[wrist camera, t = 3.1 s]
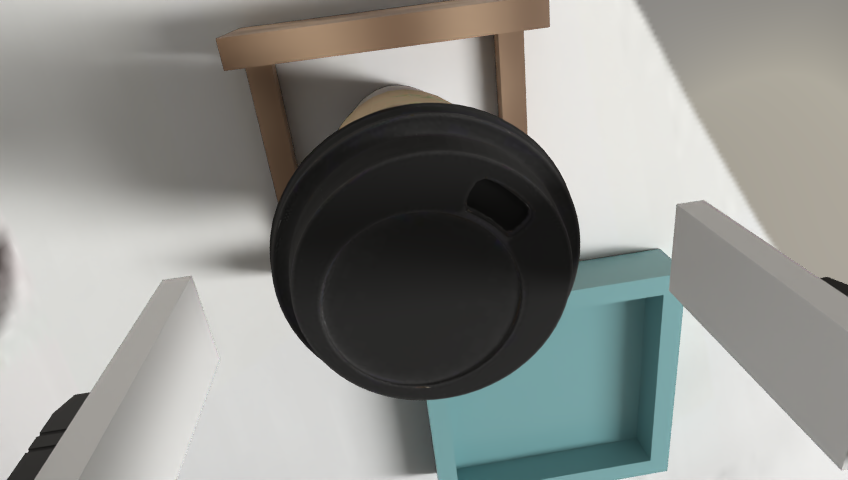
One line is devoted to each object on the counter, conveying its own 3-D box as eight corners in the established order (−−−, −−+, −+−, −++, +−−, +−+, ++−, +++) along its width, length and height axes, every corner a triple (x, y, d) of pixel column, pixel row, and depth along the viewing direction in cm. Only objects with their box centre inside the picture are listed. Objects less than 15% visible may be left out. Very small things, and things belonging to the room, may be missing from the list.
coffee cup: (504, 62, 28) (643, 141, 14) (471, 235, 32) (556, 426, 18) (311, 36, 26) (264, 96, 13) (300, 220, 30) (255, 416, 17)
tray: (436, 473, 39) (442, 510, 36) (409, 287, 33) (414, 315, 30) (646, 437, 40) (667, 470, 37) (659, 248, 33) (686, 272, 31)
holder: (299, 273, 32) (289, 322, 27) (239, 28, 26) (215, 38, 21) (526, 238, 32) (554, 281, 28) (516, -9, 27) (548, -6, 22)
